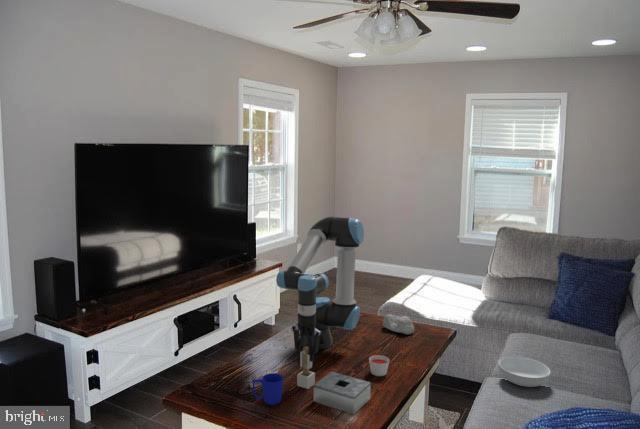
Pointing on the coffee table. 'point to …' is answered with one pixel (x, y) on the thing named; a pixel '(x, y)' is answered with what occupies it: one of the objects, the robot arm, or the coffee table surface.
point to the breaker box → (342, 392)
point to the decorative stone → (398, 324)
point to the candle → (379, 365)
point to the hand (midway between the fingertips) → (306, 366)
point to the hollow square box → (306, 380)
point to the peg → (305, 361)
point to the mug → (270, 388)
